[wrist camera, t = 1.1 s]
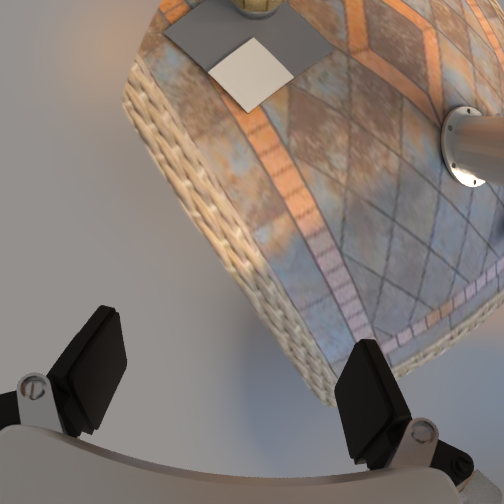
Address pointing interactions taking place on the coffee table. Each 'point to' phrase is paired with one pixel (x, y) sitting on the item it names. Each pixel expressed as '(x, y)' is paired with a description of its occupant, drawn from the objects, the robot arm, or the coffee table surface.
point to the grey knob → (256, 13)
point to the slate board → (248, 36)
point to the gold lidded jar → (257, 5)
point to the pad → (250, 74)
